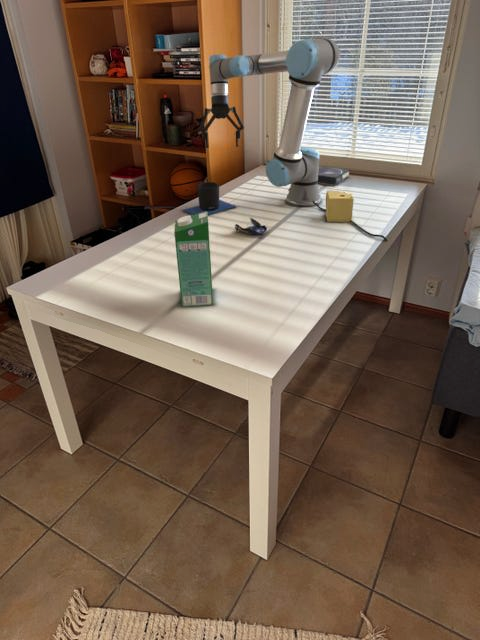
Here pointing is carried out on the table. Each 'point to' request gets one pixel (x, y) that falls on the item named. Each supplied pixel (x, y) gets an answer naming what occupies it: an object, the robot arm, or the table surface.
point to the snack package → (252, 228)
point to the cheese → (339, 206)
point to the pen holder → (208, 196)
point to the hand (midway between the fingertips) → (222, 147)
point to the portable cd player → (331, 175)
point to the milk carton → (194, 259)
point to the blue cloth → (222, 207)
